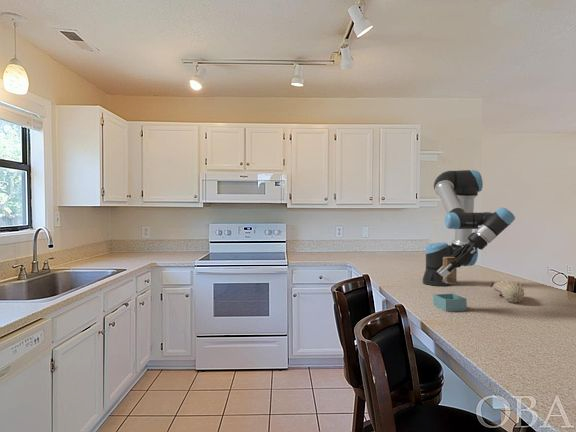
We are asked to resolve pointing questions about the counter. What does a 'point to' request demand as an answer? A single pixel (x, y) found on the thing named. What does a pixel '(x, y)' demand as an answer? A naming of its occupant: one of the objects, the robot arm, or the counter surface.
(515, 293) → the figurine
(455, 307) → the teal storage bin
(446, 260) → the wooden post on plate
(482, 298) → the counter surface
